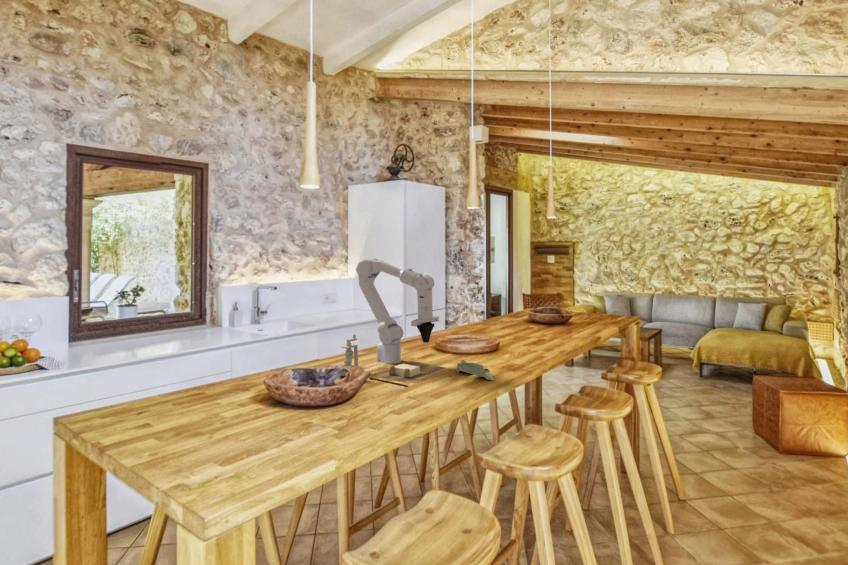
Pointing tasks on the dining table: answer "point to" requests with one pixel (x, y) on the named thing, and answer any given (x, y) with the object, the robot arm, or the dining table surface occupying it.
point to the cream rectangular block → (413, 369)
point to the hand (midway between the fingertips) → (425, 342)
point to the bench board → (401, 378)
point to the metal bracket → (474, 369)
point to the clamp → (351, 352)
